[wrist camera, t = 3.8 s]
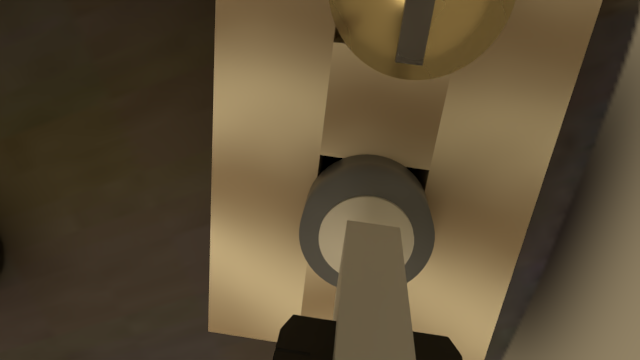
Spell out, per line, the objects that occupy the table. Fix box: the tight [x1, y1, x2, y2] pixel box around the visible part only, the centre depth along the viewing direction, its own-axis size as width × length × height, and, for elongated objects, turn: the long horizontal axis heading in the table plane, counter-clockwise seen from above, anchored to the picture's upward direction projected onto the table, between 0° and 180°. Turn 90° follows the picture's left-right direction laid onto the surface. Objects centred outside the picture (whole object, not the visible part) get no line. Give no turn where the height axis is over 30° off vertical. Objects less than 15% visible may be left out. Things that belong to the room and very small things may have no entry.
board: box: [208, 0, 603, 360], centre depth 17 cm, size 28×12×4 cm, turn 174°
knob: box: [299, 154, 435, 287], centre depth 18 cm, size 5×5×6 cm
